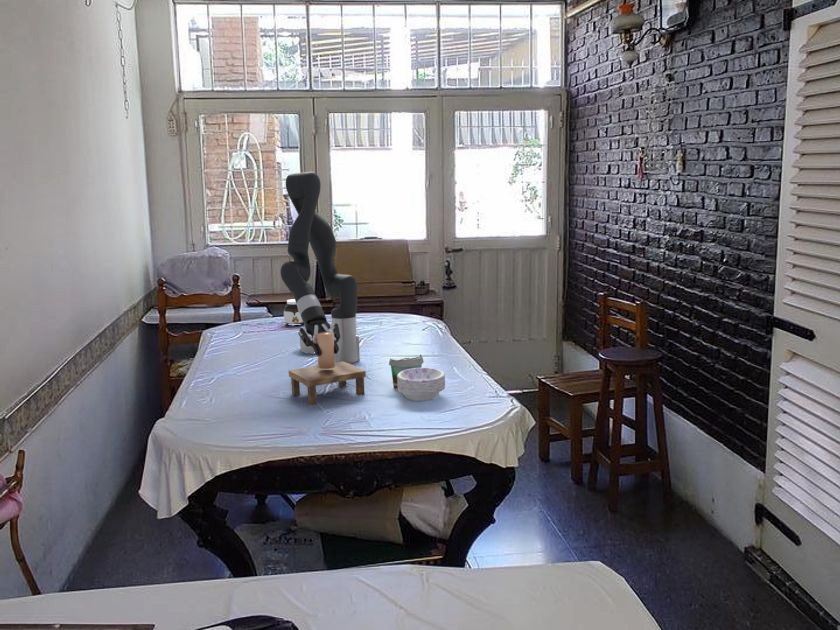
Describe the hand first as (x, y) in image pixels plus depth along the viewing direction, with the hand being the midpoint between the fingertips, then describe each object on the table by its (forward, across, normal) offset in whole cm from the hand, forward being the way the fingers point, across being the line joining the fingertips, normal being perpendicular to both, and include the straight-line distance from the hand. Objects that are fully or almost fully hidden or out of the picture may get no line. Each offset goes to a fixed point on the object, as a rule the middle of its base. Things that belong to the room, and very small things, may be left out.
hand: (328, 353), depth 261 cm
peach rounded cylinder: (+2, 0, +5) cm, 5 cm away
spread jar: (-73, +40, +94) cm, 125 cm away
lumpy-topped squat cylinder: (-35, +23, +55) cm, 69 cm away
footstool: (+9, 0, +11) cm, 14 cm away
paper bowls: (+24, +23, -4) cm, 33 cm away
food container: (+15, +26, +5) cm, 31 cm away
